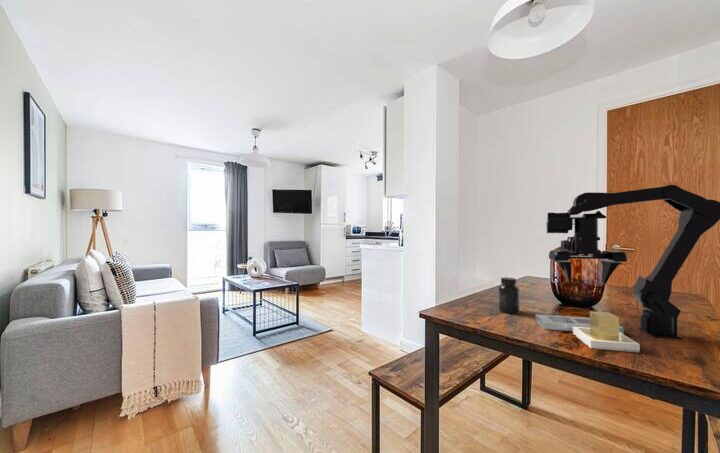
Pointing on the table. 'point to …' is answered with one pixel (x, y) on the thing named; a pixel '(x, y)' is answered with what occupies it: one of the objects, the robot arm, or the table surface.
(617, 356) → the table surface
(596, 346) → the tray
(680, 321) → the table surface
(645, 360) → the table surface
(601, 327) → the wood grain block
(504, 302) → the supplement bottle
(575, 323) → the grey flat plate
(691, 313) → the table surface
